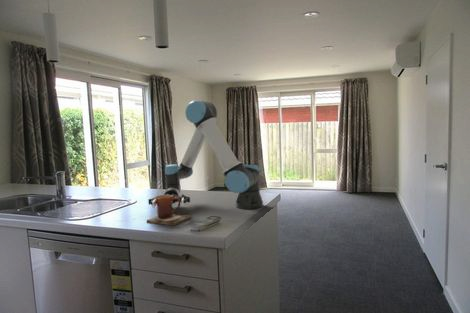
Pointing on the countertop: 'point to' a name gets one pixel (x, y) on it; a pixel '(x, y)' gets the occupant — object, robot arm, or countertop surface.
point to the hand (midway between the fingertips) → (167, 204)
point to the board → (170, 220)
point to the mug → (166, 206)
